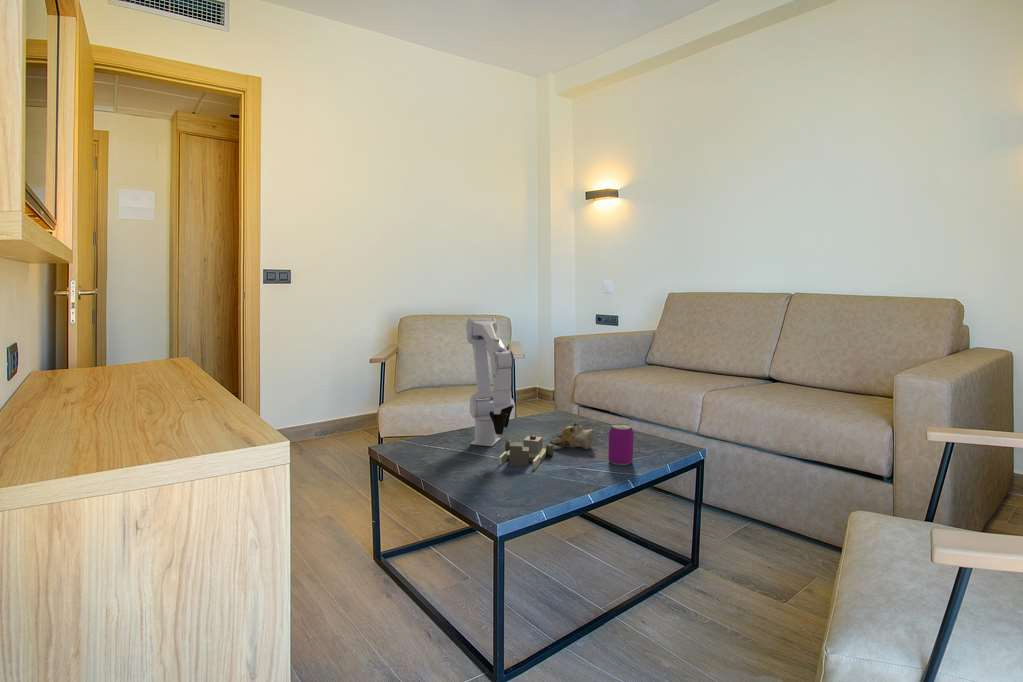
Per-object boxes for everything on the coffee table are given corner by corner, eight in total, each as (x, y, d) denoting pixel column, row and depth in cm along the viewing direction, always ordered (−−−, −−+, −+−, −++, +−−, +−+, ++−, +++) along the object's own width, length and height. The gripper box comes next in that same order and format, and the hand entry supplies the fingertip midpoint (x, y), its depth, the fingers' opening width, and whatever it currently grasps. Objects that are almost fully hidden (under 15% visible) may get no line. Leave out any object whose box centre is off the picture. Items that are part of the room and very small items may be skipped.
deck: (508, 448, 194) (508, 431, 194) (553, 453, 190) (554, 435, 189) (492, 464, 179) (492, 444, 179) (541, 469, 175) (541, 450, 174)
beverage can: (637, 463, 181) (639, 427, 179) (618, 467, 177) (620, 430, 175) (621, 456, 187) (622, 421, 186) (603, 460, 183) (604, 424, 182)
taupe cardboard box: (509, 461, 182) (509, 442, 181) (528, 462, 182) (528, 442, 181) (509, 466, 178) (509, 446, 177) (528, 466, 178) (528, 446, 177)
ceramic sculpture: (591, 428, 189) (548, 426, 194) (592, 453, 190) (549, 450, 195) (598, 420, 199) (557, 418, 204) (599, 444, 200) (558, 442, 205)
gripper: (494, 383, 188) (494, 423, 190) (484, 393, 174) (484, 436, 176) (515, 384, 187) (515, 424, 188) (506, 394, 173) (506, 437, 174)
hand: (501, 430), depth 182 cm, fingers open, 7 cm apart
